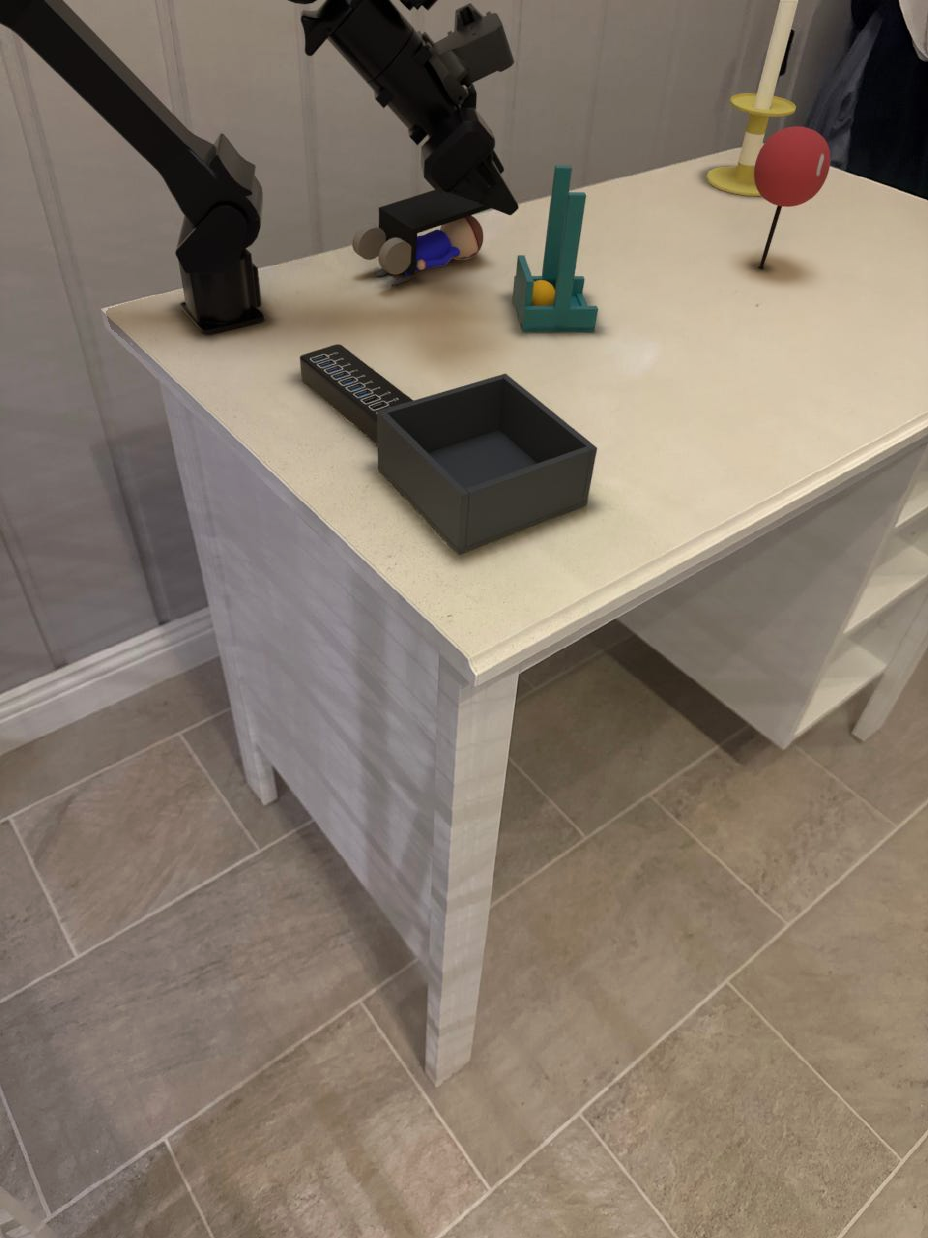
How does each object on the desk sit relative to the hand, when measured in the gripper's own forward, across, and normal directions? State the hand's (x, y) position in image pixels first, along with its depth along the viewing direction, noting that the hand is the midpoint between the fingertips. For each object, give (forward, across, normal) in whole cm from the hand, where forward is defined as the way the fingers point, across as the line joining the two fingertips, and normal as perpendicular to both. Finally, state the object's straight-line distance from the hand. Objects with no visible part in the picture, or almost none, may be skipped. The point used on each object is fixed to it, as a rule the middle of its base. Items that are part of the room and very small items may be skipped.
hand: (507, 191), depth 86 cm
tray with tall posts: (+13, 0, +5) cm, 14 cm away
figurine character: (+4, +10, +14) cm, 18 cm away
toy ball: (+10, 0, +4) cm, 11 cm away
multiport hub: (-1, -17, +19) cm, 26 cm away
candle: (+37, +38, -19) cm, 56 cm away
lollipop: (+32, +11, -14) cm, 37 cm away
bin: (+5, -29, +12) cm, 32 cm away
